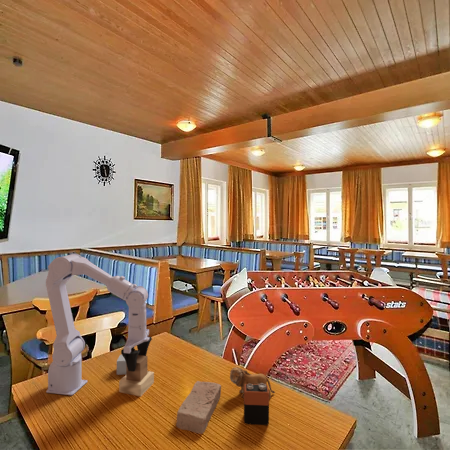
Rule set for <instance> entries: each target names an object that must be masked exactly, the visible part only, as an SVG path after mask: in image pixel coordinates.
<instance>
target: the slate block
mask: <svg viewBox="0 0 450 450" xmlns="http://www.w3.org/2000/svg"><path fill="white" fill-rule="evenodd" d="M116 375H117V376H118V375H119V376H120V375H121V376H122V375H126V361H125V359H124V357H123V355H122V354H119V356H118V357H117V360H116Z"/></svg>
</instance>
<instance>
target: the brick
mask: <svg viewBox="0 0 450 450" xmlns="http://www.w3.org/2000/svg"><path fill="white" fill-rule="evenodd" d="M221 394H222V385H221V384H220V383H218V382H217V383H216V382H210V381H200V380H197V381H196V382H195V383H194V385H193V386H192V389H191V391H190V393H189V394H188V395H187V396H186V397H185V399H184V400H183V402H182V403H181V405H180V406H179V408H178V410H177V413H176V428H177V429H180V430H184V431H190V432H193V433H195V434H200V435H201V434H204V432H205V431H206V429H207V427H208V424H209V421H210V420H211V418H212V416H213V414H214V412H215V409H216V408H217V405H218V403H219V400H220V398H221Z"/></svg>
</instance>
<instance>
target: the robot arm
mask: <svg viewBox="0 0 450 450" xmlns="http://www.w3.org/2000/svg"><path fill="white" fill-rule="evenodd" d="M47 268H48V269H47V270H48V272H47V277H46V279H45V287H46V291H47V295H48V296H47V297H48V301H49V306H50V310H51V315H52V320H53V323H54V324H53V325H54V328H55V329H54V330H55V332H56V336H55V339H54V342H53V344H52V349H53V351H52V354H51V357H52V362H51V363H50V365H49V367H48V371H47V390H46V393H47V394H58V395H65V396H67V395H68V396H73V395H74V394H76V392H78V391H79V390H80V389H81V388H83V386H84V385H86V384H87V383H88V379H82V377H83V376H82V373H83V371H82V368H83V367H82V361H83V360H82V352H83V351H84V350H85V347H86V342H85V340H84V338H83V337H82V335H81V332H80V331H79V330H77V328H75V323H74V317H73V313H72V309H71V302H70V299H69V294H68V290H67V285H66V284H67V282H68V281H69V280H70V279H71V278H72V276H81V275H85V276H87V277H89V278H91V279H93V280H95V281H97V282H99V283H101V284H103V285H105V286H106V289H107V291H108V292H109V293H111V294H113V295H114V296H116V297H117V298H120V299H121V300H123V301H125V303H126V305H127V307H128V316H127V317H128V319H127V321H128V324H127V325H128V326H127V328H128V329H127V331H128V332H127V334H128V335H127V336H128V337H127V339H126V343H125V345H124V346H123V348H122V349H121V350H120V355H123V357H124V359H125V361H126V364H127V368H128V371H133V372H134V371H135V369H136V363H137V357H138V355H143V356H147V354H148V349H149V346H150V344H151V342H152V340H153V339H152V338H153V337H152V336H149V335H150V329H149V328H148V329H147V302H146V301H147V300H148V298H149V292H148V290H147V289H146V288H145V287H144V286H143V285H137V283H132V282H130V281H128V280H127V279H126V277H125V276H124V275H115V276H112V275H111V274H110V273H108V272H107V271H105V270H103V269H102V268H101V267H99V266H97V265H95V264H94V263H93V262H92V261H90V260H89V259H88V258H87V257H85V256H81V254H78V253H71V254H68V255H67V254H66V255H64V256H59V257H55V258H54V259H53V260H52V261H51V262H50V263H49V264H48V265H47ZM135 347H137V349H135Z"/></svg>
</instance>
